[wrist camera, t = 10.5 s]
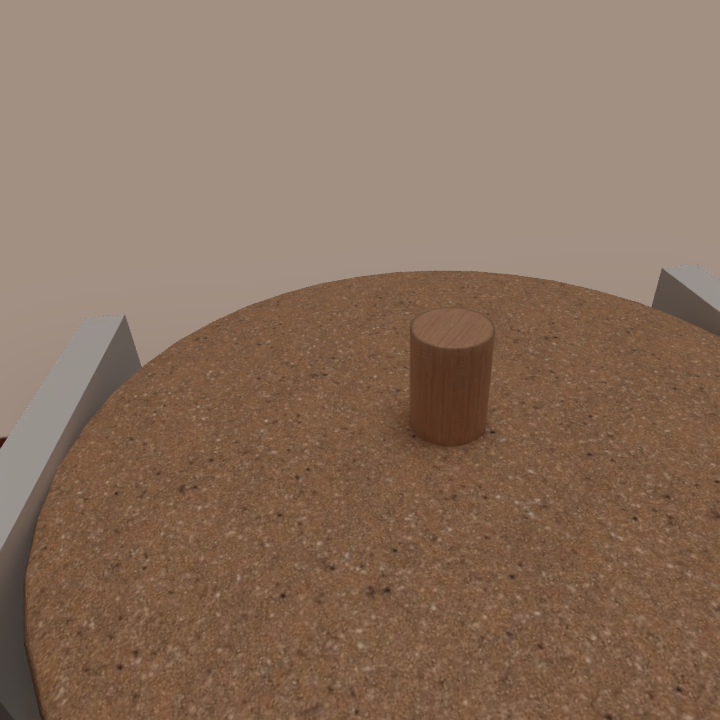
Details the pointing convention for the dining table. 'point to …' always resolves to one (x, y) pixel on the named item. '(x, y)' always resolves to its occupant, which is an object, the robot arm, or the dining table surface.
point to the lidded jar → (393, 515)
